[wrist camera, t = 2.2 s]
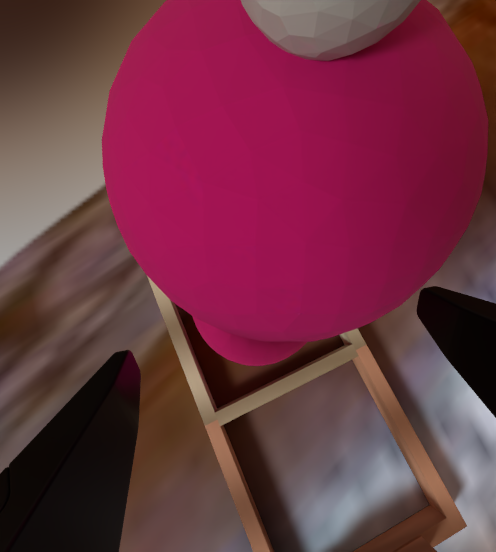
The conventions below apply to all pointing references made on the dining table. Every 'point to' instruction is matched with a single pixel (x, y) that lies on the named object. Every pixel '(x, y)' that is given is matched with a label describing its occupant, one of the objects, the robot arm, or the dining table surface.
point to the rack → (391, 544)
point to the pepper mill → (293, 162)
